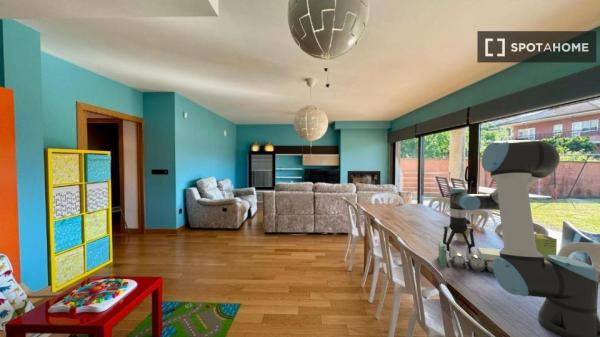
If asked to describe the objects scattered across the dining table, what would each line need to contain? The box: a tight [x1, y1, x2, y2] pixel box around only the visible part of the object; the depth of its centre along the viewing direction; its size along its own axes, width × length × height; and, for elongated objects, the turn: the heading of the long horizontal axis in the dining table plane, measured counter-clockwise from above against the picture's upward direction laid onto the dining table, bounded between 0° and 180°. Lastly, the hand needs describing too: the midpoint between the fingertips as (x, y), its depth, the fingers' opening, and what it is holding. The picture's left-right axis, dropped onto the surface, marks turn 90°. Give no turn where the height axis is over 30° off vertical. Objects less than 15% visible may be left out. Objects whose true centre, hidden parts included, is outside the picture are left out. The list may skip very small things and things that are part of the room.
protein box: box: [534, 233, 557, 261], centre depth 137 cm, size 10×15×16 cm
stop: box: [438, 241, 447, 268], centre depth 140 cm, size 14×2×9 cm, turn 156°
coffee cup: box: [455, 218, 472, 243], centre depth 177 cm, size 10×10×15 cm
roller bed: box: [467, 250, 495, 275], centre depth 131 cm, size 14×21×6 cm, turn 66°
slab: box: [476, 246, 502, 261], centre depth 129 cm, size 10×16×3 cm, turn 66°
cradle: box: [446, 255, 470, 271], centre depth 137 cm, size 14×9×2 cm, turn 156°
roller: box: [450, 249, 467, 269], centre depth 137 cm, size 12×6×6 cm, turn 155°
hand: (458, 257), depth 137 cm, fingers open, 7 cm apart
